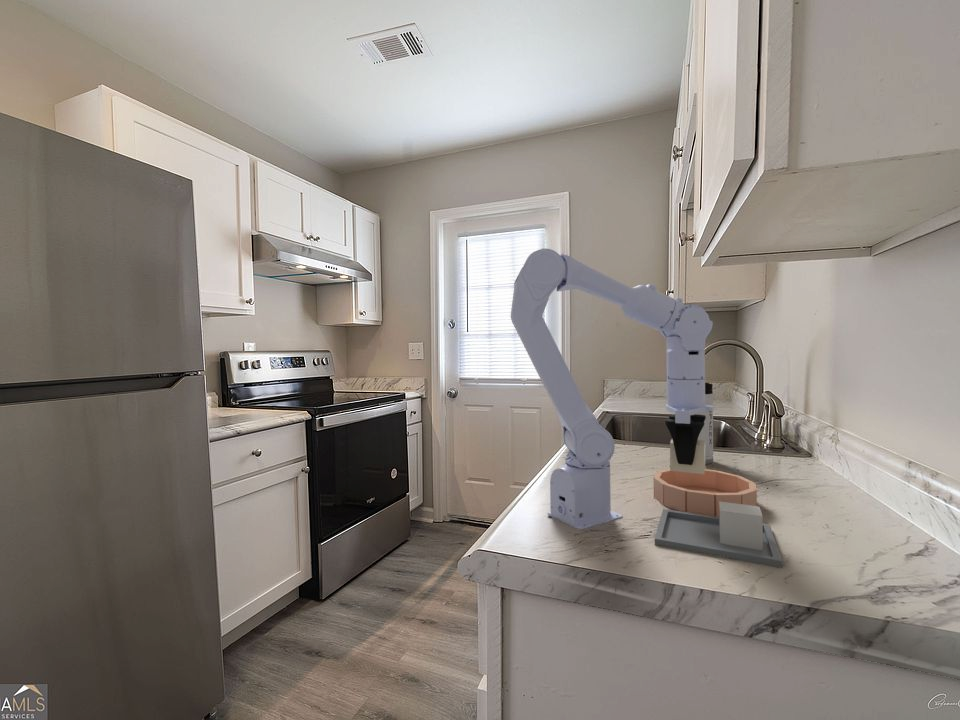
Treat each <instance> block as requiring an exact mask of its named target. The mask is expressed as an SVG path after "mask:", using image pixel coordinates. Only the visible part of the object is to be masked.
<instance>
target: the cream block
mask: <svg viewBox="0 0 960 720" xmlns="http://www.w3.org/2000/svg"><path fill="white" fill-rule="evenodd" d="M669 469H670V471H678V472H688V473H697V474H705V469H706V464H705V441H703V440H697V444H696V451H695V457H694V461H693V464H692V465H686V464H678V461H677V458H676V453H675V448H674V443H673V440H672V439H670V441H669Z"/></svg>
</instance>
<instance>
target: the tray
mask: <svg viewBox="0 0 960 720" xmlns="http://www.w3.org/2000/svg"><path fill="white" fill-rule="evenodd" d="M654 545H655V546H659V547H666V548H671V549H676V550H682V551H688V552H693V553H698V554H705V555H709V556H714V557H719V558H720V557H721V558H726V559H730V560H736V561H741V562H742V561H743V562H747V563H754V564H757V565H764V566H769V567H774V568H781V569H782V568H783V561H782V557H781V555H780V551H779V548H778V546H777V542H776V539H775V537H774V534H773V531H772V528H771V525H770V524H768V523H763V550H757V549H751V548H745V547H739V546H733V545H727V544H721V543H720V536H719V517H715V516H708V515H701V514H694V513H687V512H681V511H679V510H675V509H673V510H671V509H665V508H663V509H662V512H661V515H660V519H659V523H658V526H657V529H656V533H655V537H654Z"/></svg>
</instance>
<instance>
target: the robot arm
mask: <svg viewBox="0 0 960 720" xmlns="http://www.w3.org/2000/svg"><path fill="white" fill-rule="evenodd" d="M657 288H658V287H657V286H656V285H654V284H652V283H649V284H647V285H644V284H638V285H636V286H634V287H629V286H627V285H626V284H624V283H623V282H620V281H618V280H616V279H614V278H612V277H611V276H608V275H606V274H604V273H602V272H600V271H598V270H596V269H594V268H592V267H590V266H588V265H586V264H584V263H582V262H581V261H578V260H577V259H576V258H573V257H572V256H570V255H568V254H564V253H561V254H559V253H558V252H557V251H555V250H554V249H551V248H547V247H546V248H544V247H543V248H538V249H536V250H534V251H533V252H531V253H529V255H528V257H527V258H526V260H525V262H524V264H523V266H522V267H521V269H520V271H519V273H518V275H517V276H516V278H515V280H514V284H513V293H512V294H513V295H512V301H511V302H512V303H511V310H510V320H511V322H512V325H513V327H514V329H515V331H516V332H517V335H518V337H519V338H520V341H521V343H522V345H523V347H524V349H525V351H526V352H527V356H528V357H529V358H530V361H531V362H532V365H533V367H534V369H535V371H536V373H537V374H538V377H539V379H540V381H541V382H542V385H543V387H544V389H545V391H546V393H547V394H548V397H549V399H550V400H551V403H552V405H553V407H554V409H555V410H556V413H557V417H558V422H559V423H560V426H561V427H562V440H563V443H564V445H565V447H566V448H567V449H568V452H567V453H566V456H565V457H564V461H565V462H564V464H563V465H561V466H560V467H557V468H556V469H554V470H553V471H552V473H551V475H550V478H549V483H550V485H549V486H550V489H549V491H550V494H549V495H550V496H549V498H550V504H549V505H550V511H549V510H548V511H547V515H548V516H550V517H552V518H555V519H557V520H559V521H561V522H563V523H565V524H567V525H569V526H571V527H573V528H575V529H576V530H585V529H589V528H592V527H595V526H598V525H602V524H605V523H608V522H612V521H616V520H620V519H623V514H620V513H618V512H616V511H613V510H611V506H612V505H611V503H612V502H611V459H612V457H613V456H614V453H615V440H614V438H613V436H612V434H611V433H610V432H609V431H608V430H607V429H605V428H604V427H603V426H601V425H600V423H599V421H598V420H597V417H596V415H595V414H594V413H593V411H592V410H591V409H590V408H589V406H588V405H587V403H586V401H585V400H584V398H583V396H582V393H581V392H580V390H579V388H578V386H577V384H576V381H575V380H574V377H573V375H572V373H571V372H570V369H569V367H568V365H567V363H566V361H565V359H564V357H563V356H562V353H561V352H560V349H559V347H558V346H557V343H556V342H555V339H554V337H553V335H552V333H551V331H550V329H549V327H548V325H547V323H546V321H545V319H544V316H543V314H544V312H545V310H546V307H547V304H548V302H549V299H550V296H551V295H552V293H553V292H554V291H555V290H556V292H564V291H570V290H579V291H580V292H581V291H582V292H584V293H587V294H590V295H591V296H595V297H597V298H599V299H602V300H605V301H607V302H609V303H613V304H615V305H617V306H619V307H621V310H622V312H623V314H624V316H625V317H626V318H628V319H630V320H633V321H635V322H637V323H639V324H641V325H644V326H646V327H648V328H651V329H652V330H656V331H657V332H660V333H661V335H662V336H663V338H664V339H666V404H665V410H666V411H668V412H670V413H672V414H670V415H669V416H668V418H665V421H664V424H665V426H666V428H667V430H668V431H669V432H668V433H669V434H670V436H671V440H673V443H674V448H675V453H676V458H677V461H678V464H686V465H692V464H693V461H694V457H695V451H696V444H697V440H698V437H699V434H700V432H701V430H702V428H703V426H704V424H705V423H704V421H705V419H706V416H705V415H695V414H697V413H701V412H705V411H713V412H714V405H713V406H709V405H705V383H706V351H705V350H706V348H705V347H706V339H707V336H708V335H709V334H710V333H711V331H712V329H713V324H714V322H713V320H710V316H709V313H707V312H706V309H705V308H703V307H702V306H700V305H697V304H686V305H684V303H683V301H684V300H683V299H682V298H681V297H674V298H673V297H671V296H669V295H668V294H664V293H662V292H660V291H658V290H657Z"/></svg>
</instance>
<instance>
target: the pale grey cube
mask: <svg viewBox="0 0 960 720" xmlns="http://www.w3.org/2000/svg"><path fill="white" fill-rule="evenodd" d="M763 517H764V516H763V514H762V510H761V508H760V506H758V505H757V506H751V505H743V504H735V503H728V502H720V501H719V536H720V543H721V544H727V545H733V546H739V547H745V548H751V549H757V550H763V524H764V523H763V519H764V518H763Z"/></svg>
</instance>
